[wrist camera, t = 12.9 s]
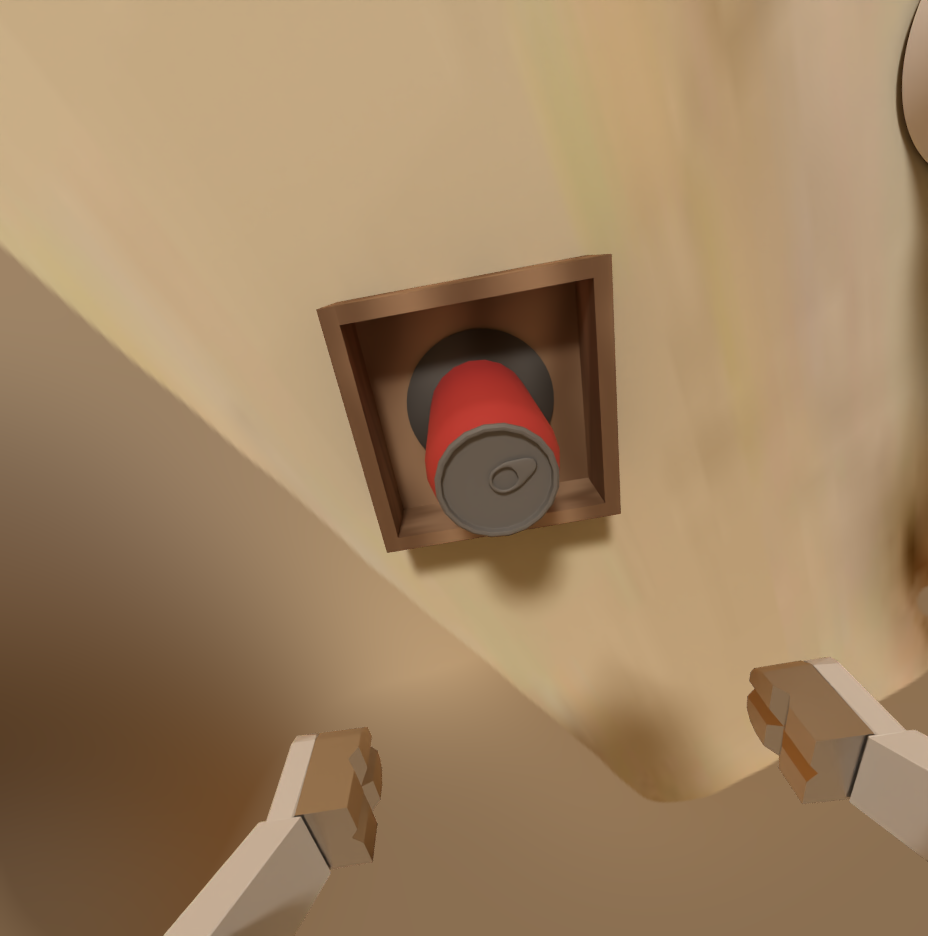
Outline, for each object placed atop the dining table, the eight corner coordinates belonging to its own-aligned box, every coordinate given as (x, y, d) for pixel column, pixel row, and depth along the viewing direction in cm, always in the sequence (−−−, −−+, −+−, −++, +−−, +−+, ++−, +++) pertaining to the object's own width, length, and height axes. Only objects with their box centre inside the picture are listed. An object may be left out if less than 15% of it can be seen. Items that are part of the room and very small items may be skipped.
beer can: (544, 421, 32) (596, 504, 21) (463, 467, 33) (472, 569, 22) (497, 338, 29) (527, 382, 18) (411, 391, 30) (392, 463, 20)
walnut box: (585, 255, 29) (611, 253, 24) (598, 481, 35) (620, 513, 31) (336, 302, 29) (316, 309, 25) (394, 515, 36) (387, 552, 31)
